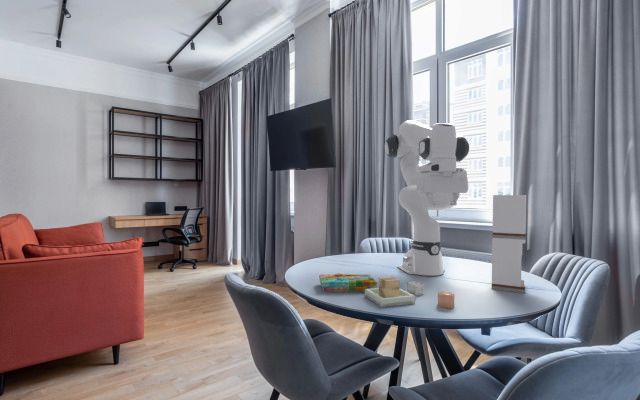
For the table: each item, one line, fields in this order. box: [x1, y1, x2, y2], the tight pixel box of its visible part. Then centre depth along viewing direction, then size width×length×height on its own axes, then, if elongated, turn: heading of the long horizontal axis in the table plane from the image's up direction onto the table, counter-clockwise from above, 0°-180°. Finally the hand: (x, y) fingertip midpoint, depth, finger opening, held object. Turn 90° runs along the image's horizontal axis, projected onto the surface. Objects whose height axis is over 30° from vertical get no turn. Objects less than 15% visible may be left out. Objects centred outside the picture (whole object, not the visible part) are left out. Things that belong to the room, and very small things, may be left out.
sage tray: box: [364, 287, 416, 308], centre depth 116 cm, size 12×12×2 cm
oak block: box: [378, 276, 401, 298], centre depth 116 cm, size 5×5×6 cm
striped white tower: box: [491, 194, 527, 294], centre depth 132 cm, size 11×11×35 cm
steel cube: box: [406, 281, 424, 298], centre depth 122 cm, size 4×4×4 cm
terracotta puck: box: [437, 290, 456, 310], centre depth 110 cm, size 5×5×4 cm
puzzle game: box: [318, 273, 378, 293], centre depth 130 cm, size 12×5×20 cm
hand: (442, 205), depth 126 cm, fingers open, 8 cm apart
